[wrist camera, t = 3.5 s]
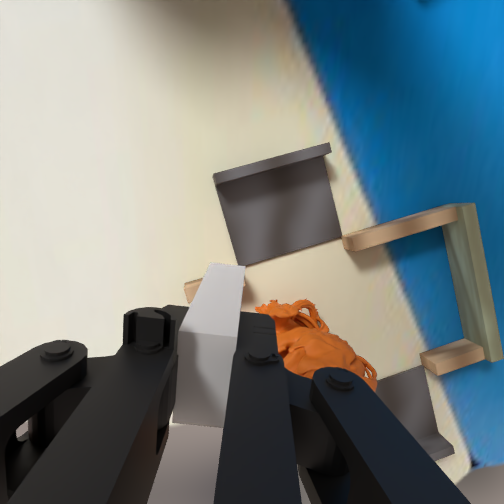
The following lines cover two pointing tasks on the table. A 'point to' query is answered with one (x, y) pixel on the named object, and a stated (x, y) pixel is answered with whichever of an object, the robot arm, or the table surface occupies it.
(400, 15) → the table surface
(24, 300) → the table surface
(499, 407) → the table surface
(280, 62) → the table surface
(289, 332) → the orange sculpted figure
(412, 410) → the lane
